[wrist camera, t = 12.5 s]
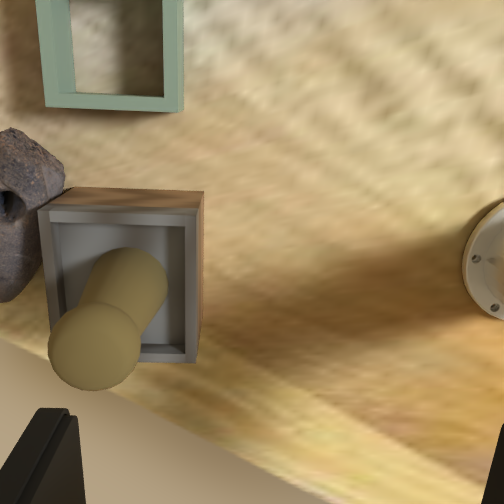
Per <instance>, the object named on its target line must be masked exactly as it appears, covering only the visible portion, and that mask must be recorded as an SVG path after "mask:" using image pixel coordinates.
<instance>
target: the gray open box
mask: <svg viewBox="0 0 504 504" xmlns="http://www.w3.org/2000/svg"><path fill="white" fill-rule="evenodd" d="M37 213H38V222H39V231H40V240H41V249H42V258H43V267H44V276H45V285H46V294H47V303H48V312H49V321H50V330H51V332H52V329H53V327H54V325H55V324H56V323H57V322H58V321H59V320H60V318H61V317H62V316H63V315H64V314H65V313H66V312H68V311H70V310H72V309H74V308H75V307H77V306H78V303H79V301H80V298H81V296H82V293H83V291H84V288H85V286H86V283H87V281H88V278H89V276H90V273H91V271H92V268H93V266H94V264H95V262H96V261H97V260H98V259H99V258H100V257H101V256H102V255H103V254H105V253H107V252H109V251H110V250H112V249H117V248H122V247H130V248H138V249H140V250H143V251H145V252H147V253H150V254H151V255H152V256H153V257H154V258H156V259H157V260H158V261H159V262H160V263H161V265H162V267H163V268H164V270H165V271H166V274H167V278H168V282H169V286H168V295H167V297H166V299H165V301H164V303H163V305H162V306H161V308H160V309H159V311H158V312H157V313H156V315H155V316H154V318H153V319H152V321H151V322H150V323H149V325H148V326H147V328H146V329H145V331H144V332H143V333H142V335H141V336H140V338H141V348H140V356H139V359H138V361H137V362H157V363H196V358H197V351H198V345H199V338H200V331H201V325H202V318H203V239H204V191H178V190H150V189H122V188H94V187H74V188H72V189H71V190H69V191H67V192H66V193H64V194H63V195H61V196H60V197H58V198H56V199H55V200H53V201H52V202H50V203H48V204H47V205H45V206H44V207H42V208H40V209H39V210H37Z"/></svg>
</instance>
